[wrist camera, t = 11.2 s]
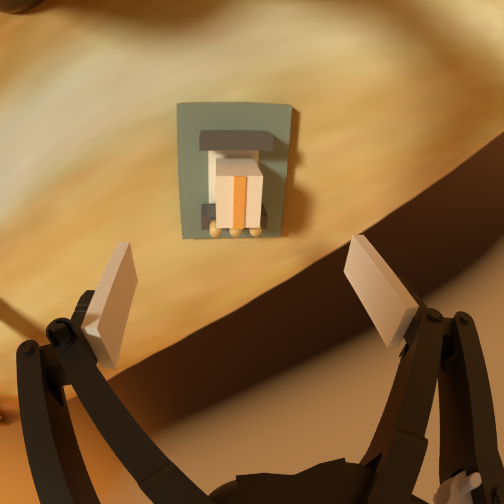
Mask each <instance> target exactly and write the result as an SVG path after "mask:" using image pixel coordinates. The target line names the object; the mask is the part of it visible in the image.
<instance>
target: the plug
mask: <svg viewBox="0 0 504 504" xmlns="http://www.w3.org/2000/svg"><path fill="white" fill-rule="evenodd" d="M262 185H263V175H262V173H261V171H260V170H259V168H258V166H257V164H256V162H255V160H254V158H253V157H216V166H215V202H216V228H233V229H244V228H260V215H261V200H262Z"/></svg>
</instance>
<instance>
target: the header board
mask: <svg viewBox="0 0 504 504" xmlns="http://www.w3.org/2000/svg"><path fill="white" fill-rule="evenodd" d="M291 116H292V105H288V104H274V103H255V102H190V103H178V104H177V146H178V174H179V194H180V211H181V225H182V238H183V239H206V238H247V237H281V227H282V217H283V207H284V197H285V186H286V176H287V164H288V153H289V141H290V128H291ZM216 157H253V158H254V160H255V162H256V164H257V166H258V168H259V170H260V171H261V173H262V175H263V185H262V200H261V215H260V228H244V229H233V228H216V202H215V166H216Z"/></svg>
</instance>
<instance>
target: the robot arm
mask: <svg viewBox="0 0 504 504" xmlns="http://www.w3.org/2000/svg"><path fill="white" fill-rule="evenodd" d="M42 1H44V0H0V12H4V13H19V12H23V11H26V10H28V9H30V8H32V7H34V6H36V5H38V4H39V3H41V2H42ZM344 273H345V275H346V277H347V278H348V280H349V282H350V283H351V285H352V287H353V288H354V290H355V292H356V293H357V295H358V297H359V298H360V300H361V302H362V304H363V305H364V307H365V309H366V311H367V312H368V314H369V316H370V318H371V319H372V321H373V323H374V325H375V326H376V328H377V330H378V332H379V334H380V336H381V337H382V339H383V341H384V343H385V345H386V347H387V348H389V347H394V346H398V345H399V344H400V343H401V341H402V339H403V337H404V339H405V341H406V344H405V346H404V348H403V350H402V351H401V353H400V355H399V357H401V359H400V363H399V366H398V370H397V373H396V376H395V380H394V383H393V386H392V389H391V392H390V395H389V398H388V400H387V403H386V406H385V409H384V412H383V414H382V417H381V420H380V422H379V425H378V427H377V429H376V432H375V434H374V437H373V439H372V442H371V444H370V446H369V448H368V450H367V452H366V454H365V455H364V457H363V458H362V460H361V461H360V463H359V464H356V463H348V462H346V461H345V458H341V459H337V460H333V461H329V462H325V463H320V464H318V465H316V466H313V467H311V468H309V469H307V470H305V471H302V472H300V473H298V474H295V475H283V474H271V473H258V474H248V475H236V480H234V481H231V482H228V483H226V484H224V485H222V486H220V487H218V488H217V489H216V490H214V491H213V492H212V493H211V494H210V495H209V496H207V495H206V494H205V493H204V492H203V491H202V490H201V489H199V488H198V487H197V486H196V485H195V484H194V483H193V482H192V481H191V480H190V479H189V478H188V477H187V476H186V475H185V474H184V473H183V472H182V471H181V470H180V469H179V468H178V467H177V466H176V465H175V464H174V463H173V462H171V461H170V460H169V459H168V458H167V457H166V456H165V455H164V453H163V452H162V451H161V450H160V449H159V448H158V447H157V446H156V445H155V443H154V442H153V441H152V440H151V439H150V438H149V437H148V435H147V434H146V433H145V432H144V431H143V429H142V428H141V427H140V426H139V424H138V423H137V422H136V421H135V419H134V418H133V417H132V416H131V414H130V413H129V412H128V410H127V409H126V408H125V406H124V405H123V404H122V402H121V401H120V400H119V398H118V397H117V396H116V394H115V393H114V391H113V390H112V388H111V387H110V386H109V384H108V383H107V381H106V380H105V378H104V377H103V375H102V374H101V372H100V371H99V369H98V368H97V366H96V365H97V361H98V363H99V365H100V366H101V368H108V369H116V367H117V362H118V357H119V353H120V348H121V344H122V339H123V335H124V331H125V327H126V323H127V319H128V315H129V311H130V307H131V303H132V300H133V296H134V292H135V289H136V285H137V282H138V279H137V275H136V270H135V266H134V261H133V256H132V251H131V246H130V242H117V244H116V246H115V248H114V250H113V252H112V254H111V257H110V259H109V261H108V263H107V265H106V267H105V270H104V272H103V274H102V276H101V279H100V281H99V283H98V286H97V288H96V290H87V291H86V292H85V293H84V294H83V295H82V296H81V297H80V299H79V301H78V303H77V306H76V308H75V312H74V313H73V315H72V317H71V320H69V319H67V318H58V319H55V320H53V321H52V322H51V323H50V324H49V325H48V326H47V329H46V336H47V337H48V339H49V341H50V343H51V344H49V345H45V346H39V344H38V343H37V342H36V341H35V340H27V341H25V342H23V343H22V344H21V345H20V346H19V347H18V349H17V353H16V365H17V385H18V398H19V408H20V416H21V423H22V429H23V436H24V441H25V446H26V451H27V456H28V461H29V465H30V469H31V473H32V477H33V480H34V484H35V488H36V491H37V494H38V497H39V501H40V503H41V504H101V503H100V501H99V499H98V497H97V495H96V492H95V490H94V487H93V485H92V482H91V480H90V477H89V475H88V472H87V469H86V466H85V464H84V461H83V458H82V455H81V452H80V449H79V446H78V443H77V440H76V436H75V433H74V429H73V426H72V422H71V419H70V414H69V410H68V406H67V402H66V397H65V392H64V388H63V386H65V385H70V384H72V386H73V388H74V390H75V392H76V394H77V395H78V397H79V399H80V401H81V402H82V404H83V406H84V407H85V409H86V411H87V412H88V414H89V416H90V417H91V419H92V421H93V422H94V424H95V425H96V427H97V429H98V430H99V432H100V433H101V435H102V436H103V438H104V439H105V440H106V442H107V443H108V445H109V446H110V448H111V449H112V450H113V452H114V453H115V455H116V456H117V457H118V458H119V460H120V461H121V462H122V464H123V465H124V466H125V468H126V469H127V470H128V471H129V473H130V474H131V475H132V476H133V478H134V479H135V480H136V482H137V483H138V486H139V487H140V488H141V490H142V491H143V492H144V493H145V494H146V496H147V497H148V498H149V499H150V500H151V501H152V502H153V503H154V504H429V503H427V502H425V501H423V500H422V499H420V498H418V497H416V496H415V495H413V494H412V491H413V489H414V485H415V483H416V481H417V478H418V475H419V472H420V469H421V466H422V463H423V460H424V456H425V453H426V449H427V446H428V439H426V438H425V432H426V428H427V424H428V420H429V416H430V411H431V407H432V402H433V398H434V393H435V388H436V382H437V377H438V390H439V408H440V456H439V457H440V458H439V479H440V486H439V488H438V490H437V493H436V494H435V495H434V497H433V502H434V503H435V504H504V468H503V464H502V461H501V458H500V455H499V452H498V449H497V448H498V446H497V434H496V424H495V416H494V408H493V401H492V395H491V389H490V384H489V379H488V374H487V369H486V365H485V360H484V356H483V352H482V348H481V345H480V341H479V337H478V333H477V330H476V327H475V323H474V321H473V319H472V317H471V316H470V315H469V314H467V313H465V312H461V311H460V312H457V313H456V314H455V316H454V318H444V317H443V316H442V314H441V313H440V312H439V311H437V310H435V309H432V308H427V307H426V305H425V304H424V302H423V301H422V300H421V298H420V297H419V296H418V294H417V293H415V291H414V289H413V288H412V287H411V285H410V284H409V283H408V281H407V280H405V279H404V278H403V277H401V276H400V275H398V276H396V275H395V274H394V272H393V271H392V270H391V268H390V267H389V266H388V265H387V263H386V262H385V261H384V260H383V259H382V257H381V256H380V255H379V253H378V252H377V251H376V250H375V249H374V247H373V246H372V245H371V244H370V243H369V242H368V240H367V239H366V238H365V237H364V235H352V240H351V245H350V248H349V253H348V257H347V261H346V265H345V269H344ZM401 355H402V356H401Z"/></svg>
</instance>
